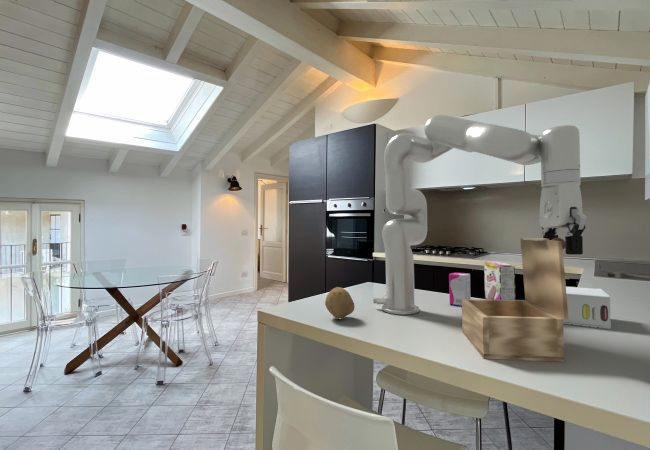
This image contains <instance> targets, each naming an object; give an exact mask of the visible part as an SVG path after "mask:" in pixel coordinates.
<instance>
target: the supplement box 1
mask: <svg viewBox="0 0 650 450" xmlns="http://www.w3.org/2000/svg"><path fill="white" fill-rule="evenodd" d="M448 283H449V288H448V289H449V293H448V294H449V306H454V307H460V308H462V299H472V297H471V296H472V295H471V273H465V272H452V273H449V274H448Z"/></svg>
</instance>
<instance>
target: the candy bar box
mask: <svg viewBox="0 0 650 450" xmlns="http://www.w3.org/2000/svg"><path fill="white" fill-rule="evenodd" d="M483 268H484V269H483V272H484V299H488V300H516V278H515V277H516V275H515V274H516V272H515V270H516V269H515V268H516V267H515V265H513V264H509V263H505V262H501V261H483Z"/></svg>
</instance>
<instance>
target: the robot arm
mask: <svg viewBox="0 0 650 450" xmlns="http://www.w3.org/2000/svg"><path fill="white" fill-rule="evenodd" d="M424 125H425V126H424V134H425V136H426V137H423V136H420V135H416V134H413V133H405V132H404V133H398V134H396V135H395V136H392V137H391V139H390V140H388V143H387V145H386V147H385V149H384V153H383V164H384V172H385V173H384V174H385V175H384V176H385V206H386V210H387V212H389V214H392V215H398V216H403V218H393V219H390V220H388V221H387V222H386V223H385V224H384V225H383V227H382V231H381V238H382V241H383V246H384V253H385V254H384V256H385V257H384V258H385V292H386V293H385V295H384V296H382V297H373V299H372V301H373V304H376V305H381V309H382V311H383V312H384V313H388V314H392V315H402V316H403V315H405V316H406V315H414V314H418V313H420V307H419V306H418V305H417V304H415V266H414V265H415V262H414V260H415V259H414V254H413V251H412V248H411V246H417V245H421V244H422V243H423V242H424V241H425V240H426V238H427V234H428V203H427V199H426V197H425V195H424V194H423V192H422V191H421V190H419V189H416V188H412V185H411V184H412V183H411V177H412V176H411V171H410V168H409V166H408V163H407V161H410V162H415V163H420V164H421V163H422V164H426V163H429V162H431V161H432V160H433V161H434V160H435V159H436V158H438V157H440V156H442V155H445V153H448V152H449V151H451V150H452V149H456V150H458V151H459V150H460V151H463V152H467V153H473V152H474V153H478V154H483V155H484V156H489V157H494V158H498V159H500V160H503V161H507V162H511V163H513V164H518V165H521V166H532V165H535V164H539V163H540V176H541V177H540V179H541V181H540V182H541V183H540V184H541V193H540V201H539V225H540V226H539V227H540V228H541V229H542V233H541V234H542V236H543V237H542V238H546V239H549V240H552V239H553V238H559V235H558V234H557V233H558V231H559V229H561V228H563V230H564V232H565V234H566V236H564V241H565V248H564V250H565V251H564V252H565V254H566V255H574V256H575V255H578V256H579V255H583V253H584V252H583V251H584V250H583V249H584V245H583V243H584V242H583V237H584V235H585V233H584V231H585V230H586V224H587V220H588V217H587V215H586V214H585V213H584V212H583V200H582V199H583V198H582V193H581V187H580V186H581V148H580V147H581V144H580V142H581V141H580V140H581V139H580V138H581V137H580V129H579V128H578V127H577V126H575V125H568V124H567V125H564V124H563V125H557V126H553V127H549V128H547V129H545V130H543V131H542V133H541V134H539V135H537V134H532V133H530V132H527V131H524V130H521V129H519V128H512V127H508V126H503V125H497V124H493V123H486V122H481V121H477V120H470V119H466V118H461V117H455V116H450V115H446V114H438V115H437V114H436V115H433V116H432V117H430V118H429V119H428V120H427V121H426V123H425V124H424Z"/></svg>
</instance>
